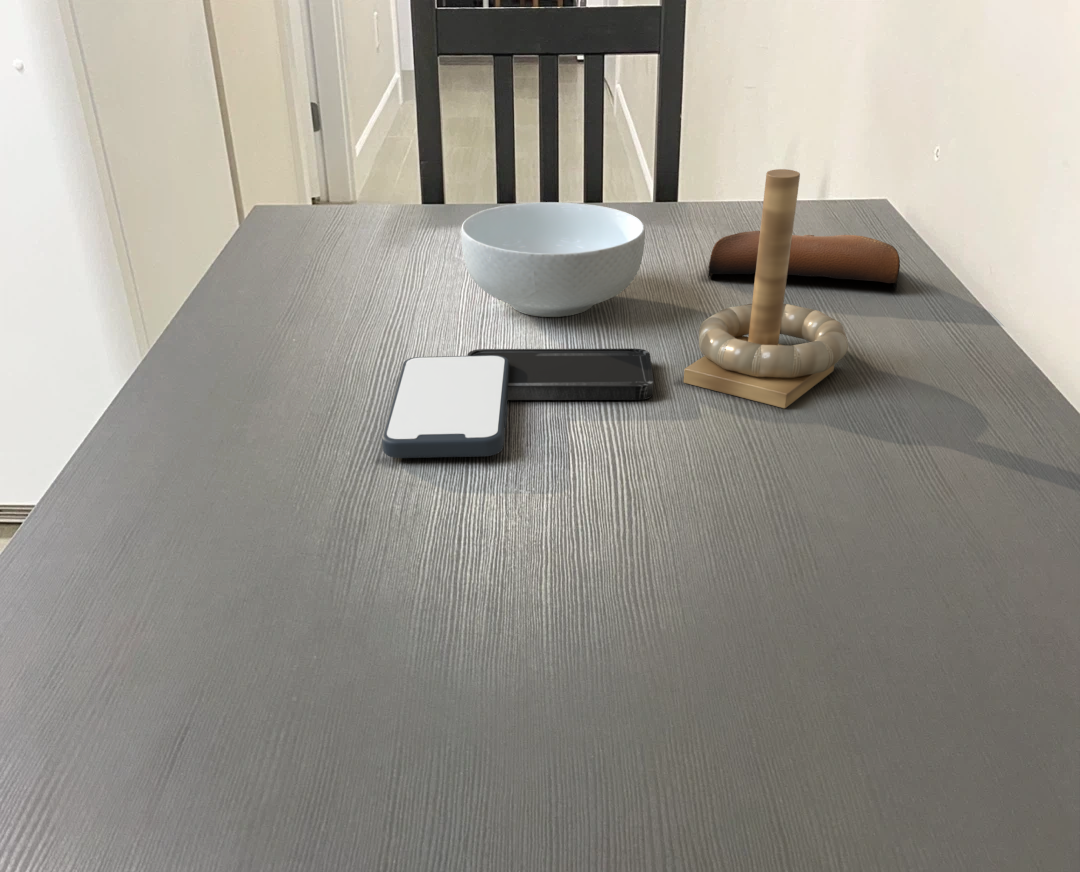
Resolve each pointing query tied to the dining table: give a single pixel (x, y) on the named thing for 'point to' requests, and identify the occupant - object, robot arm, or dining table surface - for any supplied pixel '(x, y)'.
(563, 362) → the phone
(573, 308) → the cereal bowl
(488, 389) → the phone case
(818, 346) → the ring
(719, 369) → the peg stand
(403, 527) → the dining table surface
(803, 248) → the sunglasses case
